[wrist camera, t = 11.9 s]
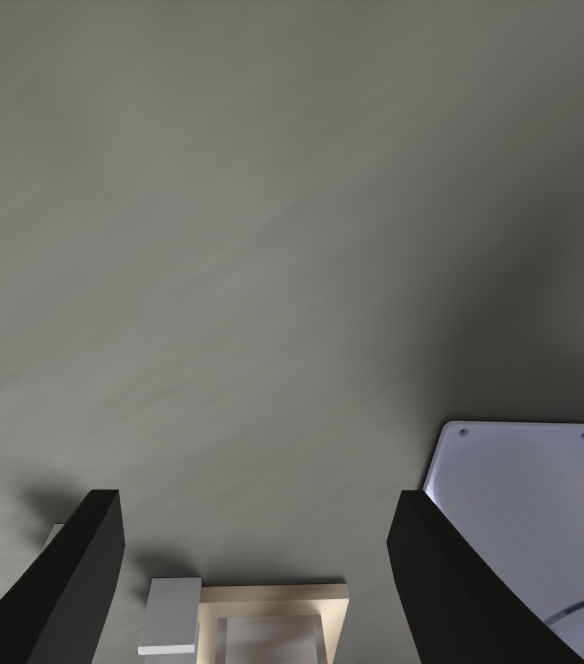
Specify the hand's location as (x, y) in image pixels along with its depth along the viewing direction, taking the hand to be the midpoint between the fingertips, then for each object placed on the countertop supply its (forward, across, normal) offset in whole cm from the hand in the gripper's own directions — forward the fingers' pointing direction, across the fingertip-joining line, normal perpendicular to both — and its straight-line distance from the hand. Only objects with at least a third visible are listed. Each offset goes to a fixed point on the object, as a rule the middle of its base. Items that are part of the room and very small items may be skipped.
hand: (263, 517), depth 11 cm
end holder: (+9, -2, +23) cm, 25 cm away
